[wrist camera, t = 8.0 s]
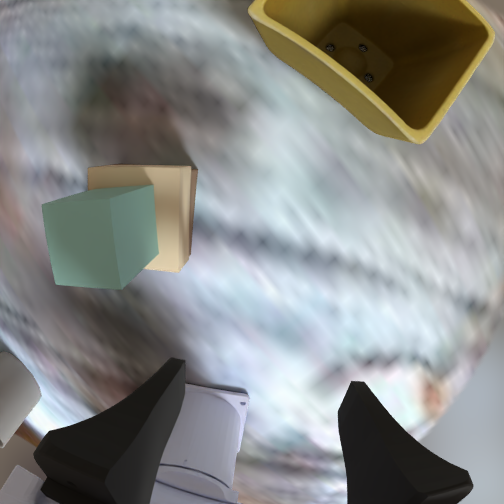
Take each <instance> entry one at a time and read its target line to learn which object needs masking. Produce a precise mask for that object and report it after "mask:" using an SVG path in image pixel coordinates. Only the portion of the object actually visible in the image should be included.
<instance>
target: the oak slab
mask: <svg viewBox="0 0 504 504" xmlns="http://www.w3.org/2000/svg"><path fill="white" fill-rule="evenodd" d="M190 183H191V166H176V165H105V166H97V167H90V168H88V191H89V190H93V189H100V188H112V187H124V186H139V185H154V200H155V214H156V227H157V238H158V248H159V254H158V255H157V256H156V257H155V258H154V259H153V260H152V261H151V262H150V263H149V264H148V265H147V266H146V267H145V268H144V269H150V270H159V271H168V272H177V273H179V272H180V270H181V269H182V268H183V266H184V265H185V264H186V262H187V261H188V260H189V210H190Z"/></svg>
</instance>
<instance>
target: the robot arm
mask: <svg viewBox="0 0 504 504" xmlns="http://www.w3.org/2000/svg"><path fill="white" fill-rule="evenodd" d="M249 399H250V397H249V395H247V394H244V393H237V392H230V391H224V390H218V389H212V388H207V387H201V386H196V385H191V384H186V383H185V360H180V359H176V358H170V359H169V360H168V361H167V362H166V363H165V364H164V365H163V366H162V367H161V368H160V369H159V370H158V371H157V372H156V373H155V374H154V375H153V376H152V377H151V378H150V379H148V380H147V381H146V382H145V383H144V384H143V385H142V386H140V387H139V388H138V389H137V390H135V391H134V392H133V393H131V394H130V395H129V396H127V397H126V398H125V399H123V400H122V401H120V402H119V403H117V404H116V405H114V406H112V407H111V408H109V409H107V410H105V411H103V412H101V413H100V414H98V415H96V416H93V417H91V418H89V419H86V420H84V421H81V422H79V423H76V424H73V425H70V426H67V427H63V428H59V429H55V430H51V431H49V432H48V433H47V434H46V435H45V436H44V438H43V439H42V441H41V442H40V444H39V445H38V447H37V448H36V450H35V452H34V459H35V460H36V462H37V464H38V465H39V466H40V468H41V469H42V470H43V472H44V473H45V474H46V476H47V479H46V480H45V482H44V481H43V480H41V479H40V478H39V477H37V476H36V475H34V474H32V473H31V472H29V471H27V470H26V469H24V468H22V467H21V466H19V465H16V467H15V468H14V470H13V471H12V473H11V474H10V476H9V478H8V479H7V481H6V482H5V484H4V486H3V487H2V489H1V491H0V504H242V503H238V502H237V501H238V493H239V492H238V491H234V490H232V484H233V477H234V470H235V462H236V455H237V452H239V451H240V446H241V441H242V436H243V430H244V425H245V420H246V415H247V410H248V405H249ZM243 402H245V403H243ZM338 427H339V435H340V441H341V446H342V451H343V457H344V462H345V468H346V475H347V504H457V503H459V502H460V501H461V500H462V499H463V498H465V497H466V496H467V495H468V494H469V493H470V492H471V490H472V489H473V483H472V480H471V478H470V475H469V473H468V471H467V470H464V469H462V468H460V467H458V466H455V465H453V464H451V463H449V462H447V461H446V460H444V459H442V458H440V457H438V456H437V455H435V454H434V453H432V452H431V451H430V450H428V449H427V448H425V447H424V446H422V445H421V444H420V443H419V442H418V441H416V440H415V439H414V438H413V437H412V436H411V435H410V434H408V433H407V432H406V431H405V430H404V429H403V428H402V427H401V426H400V425H399V423H398V422H397V421H396V420H395V419H394V418H393V417H392V416H391V415H390V414H389V412H388V411H387V410H386V409H385V408H384V406H383V405H382V404H381V403H380V401H379V400H378V399H377V397H376V396H375V395H374V394H373V392H372V391H371V390H370V389H369V387H368V386H367V385H366V383H365V382H360V381H351V383H350V385H349V388H348V390H347V392H346V395H345V397H344V399H343V401H342V403H341V406H340V408H339V410H338Z"/></svg>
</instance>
